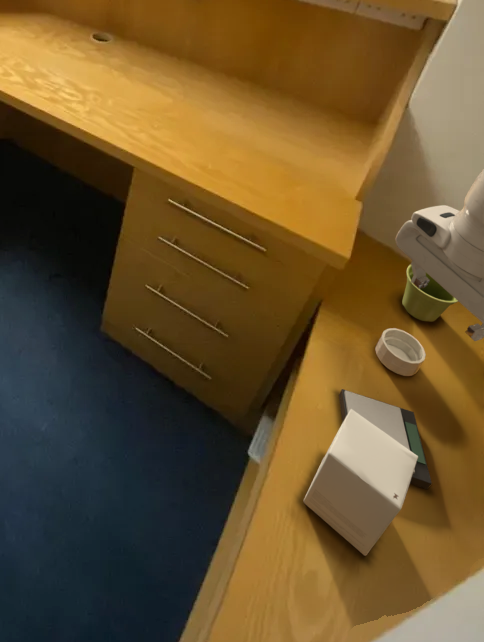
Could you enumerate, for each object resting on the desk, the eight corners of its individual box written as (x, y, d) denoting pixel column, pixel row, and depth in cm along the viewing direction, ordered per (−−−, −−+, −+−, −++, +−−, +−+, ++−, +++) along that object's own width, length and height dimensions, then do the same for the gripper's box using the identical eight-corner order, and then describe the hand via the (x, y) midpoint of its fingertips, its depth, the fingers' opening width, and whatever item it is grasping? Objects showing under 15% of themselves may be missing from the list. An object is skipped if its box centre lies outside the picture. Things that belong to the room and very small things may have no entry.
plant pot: (385, 307, 106) (400, 280, 102) (400, 282, 112) (414, 254, 107) (438, 339, 100) (456, 311, 96) (451, 310, 105) (468, 282, 101)
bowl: (411, 349, 98) (419, 335, 96) (420, 382, 93) (430, 368, 91) (371, 337, 100) (379, 323, 98) (378, 369, 95) (386, 355, 93)
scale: (409, 418, 88) (415, 409, 86) (427, 489, 79) (433, 482, 77) (338, 394, 91) (342, 386, 90) (347, 461, 82) (352, 453, 81)
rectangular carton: (385, 505, 77) (422, 456, 70) (365, 558, 72) (402, 512, 64) (323, 455, 83) (351, 405, 75) (300, 501, 78) (328, 452, 70)
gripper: (579, 305, 66) (528, 366, 73) (435, 198, 83) (405, 255, 90) (543, 316, 65) (495, 378, 72) (404, 205, 82) (376, 263, 89)
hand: (444, 309), depth 81 cm, fingers open, 8 cm apart
